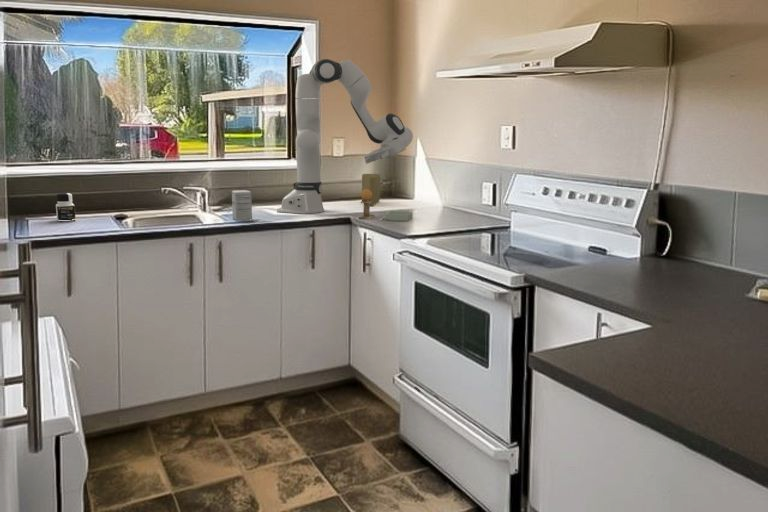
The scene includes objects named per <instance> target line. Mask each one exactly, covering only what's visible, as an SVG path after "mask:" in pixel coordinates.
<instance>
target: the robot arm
mask: <svg viewBox="0 0 768 512" xmlns="http://www.w3.org/2000/svg"><path fill="white" fill-rule="evenodd" d="M334 81H337V82H339V83H341V85H342V86H343V88H344V89H345V91H346V92H347V93H348V94H349V97H350V104H351V107H352V109H353V111H354V113H355V114H356V116H357V118H358V119H359V121H360V122H361V124H362V125H363V128H364V129H365V131H366V134H367V137H368V138H369V139H370V141H371V142H373V143H375V144H378V145H379V144H380V148H377V149H373V150H372V151H370V152H369V153H367V154H365V156H364V157H363V159H364V162H365V163H366V165H367V164H370V163H372V162H376V161H379V160H382V159H384V158H389V159H391V158H394V157H395V156H397V155H398V154H400V153H402V152H404V151H405V150H406V149H407V147H408V146H410V144H411V143H412V141H413V138H414V134H413V132H412V130H411V129H410V128H409V127H407V126H406V125H404V123H403V122H402V120H401V118H400V117H399V116H398V115H396V114H394V113H388V114H386V115H384V116H383V117H381V118H380V119H379V120H377V121H376V120H374V118H373V116H372V115H371V113H370V111H369V110H368V108H367V105H366V103H367V100H368V97H369V96H370V93H371V90H372V84H371V82H370V80H369V78H368V77H367V75H366V74H365V73H364V72H363V71H362V70H361V68H360V67H359V66H358V65H356V63H354V62H353V61H352V60H351V59H343V60H341V61H340V62H337V61H334V60H332V59H329V58H321V59H319V60H317V61H316V62H314V64H313V66H312V67H311V69H310V72H309V73H303V74H301V75H299V76H298V77H297V80H296V85H295V123H296V137H295V154H296V155H295V156H296V179H297V180H296V182H294V183H292V187H293V190H292V191H290V192H288V193H287V194H286V195H285V196H284V197H283V198H282V200H281V207H278V208H277V209H276V212H277V213H287V214H302V215H303V214H304V215H306V214H318V213H322V212H325V208H324V205H323V199H322V192H323V191H322V190H323V189H322V188H323V187H322V181H321V152H320V150H321V148H320V147H321V146H320V144H321V121H320V119H321V117H320V116H321V115H320V88H321V86H322V85H324V84H325V85H327V84H330V83H332V82H333V83H334Z"/></svg>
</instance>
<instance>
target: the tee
mask: <svg viewBox="0 0 768 512" xmlns="http://www.w3.org/2000/svg"><path fill="white" fill-rule="evenodd" d="M371 202H372V199H369V200H367V201H366V200H364V199H363V200H362V199H361V202H360V203H361V204H363V207H362V208H363V209H362V210H363V214H362V215H359V216H358V220H359V219H360V220H362V219H364V220H373V219H374V218H375V217H376V216H375V215H372V214H371V212H370V211H371V210H370V209H371V208H370V203H371ZM373 217H374V218H373Z"/></svg>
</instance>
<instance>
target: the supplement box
mask: <svg viewBox="0 0 768 512" xmlns="http://www.w3.org/2000/svg"><path fill="white" fill-rule="evenodd" d="M252 202H253V201H252V191H249V190H247V189H241V190H240V189H239V190H238V189H237V190H231V203H232V204H231V207H232V208H231V209H232V210H231V211H232V219H233V220H235V221H236V220H243V221H251V220H250V219H252V220H253V209H252V207H253V205H252V204H253V203H252Z"/></svg>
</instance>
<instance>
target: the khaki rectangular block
mask: <svg viewBox="0 0 768 512" xmlns="http://www.w3.org/2000/svg"><path fill="white" fill-rule="evenodd" d="M364 189H369V190H370V191H371V192H372V197H371V199H372V202H371V203H370V207H374V206H375V205H376V204H377V203H378V202H380V200H381V174H380V173H363V174H362V175H361V192H362V191H363V190H364ZM362 200H363V198H362V197H361V201H362ZM366 201H367V200H366Z"/></svg>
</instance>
